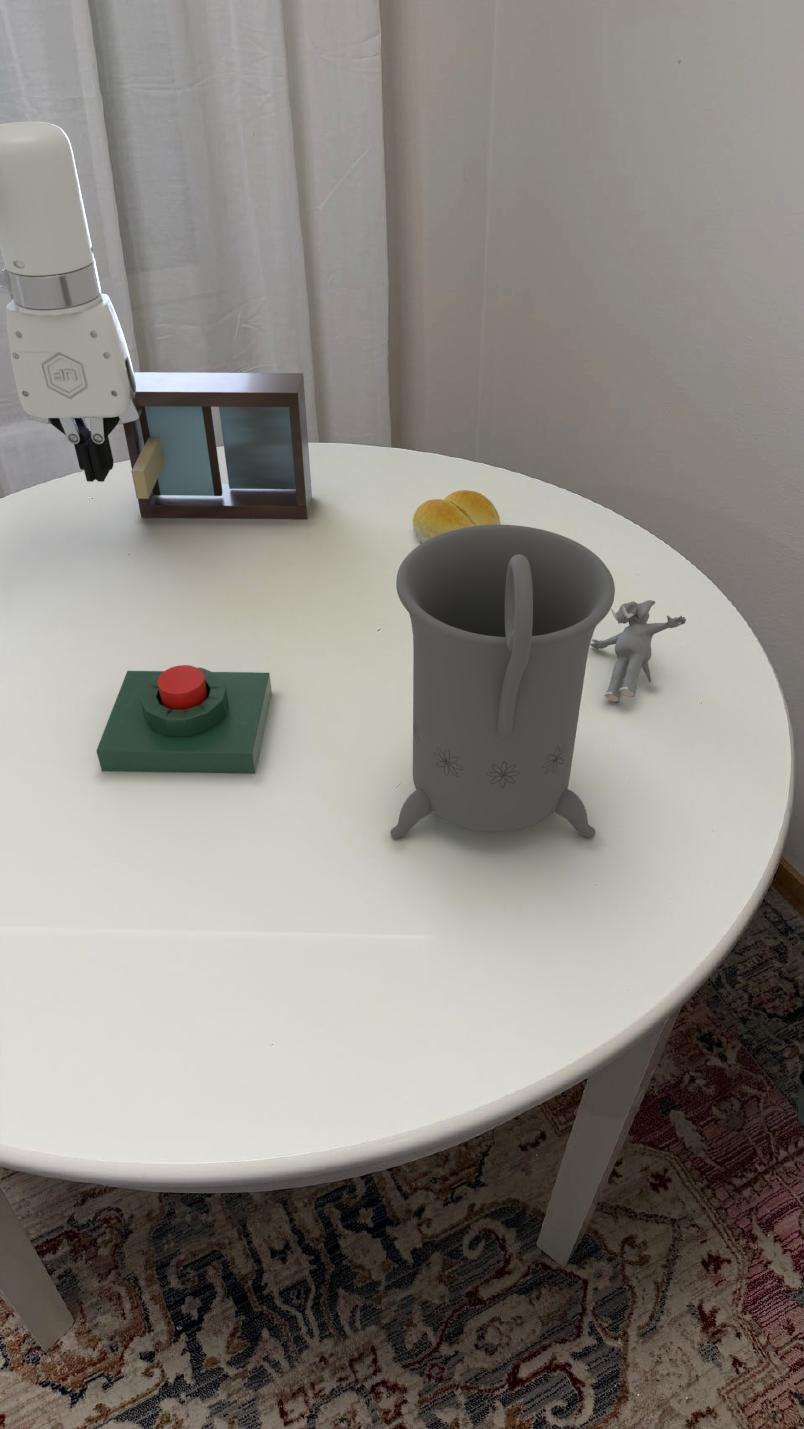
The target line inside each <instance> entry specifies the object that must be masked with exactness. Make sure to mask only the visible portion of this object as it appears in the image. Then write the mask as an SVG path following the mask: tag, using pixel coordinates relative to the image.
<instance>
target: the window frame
mask: <svg viewBox="0 0 804 1429" xmlns="http://www.w3.org/2000/svg"><path fill="white" fill-rule="evenodd" d="M133 372H134V377H135V382H136V394H135V397H136V399H137V401H138V403H139V405H140V406H186V407H211V408H212V407H213V408H215V407H216V408H218V412H219V419H220V420H219V421H220V428H221V436H222V443H223V451H224V458H225V465H226V466H225V467H226V473H227V474H226V475H227V481H228V483H221V485H222V492H223V493H222V496H185V495H153V490H152V492H151V494H150V496H149V499H137V501H138V508H139V513H140V517H141V518H154V519H155V518H157V519H158V518H160V519H161V518H164V519H165V518H167V519H168V518H169V519H171V518H172V519H266V520H267V519H274V520H275V519H277V520H280V519H281V520H286V519H287V520H308V519H309V514H310V508H311V504H312V499H313V491H312V490H313V489H312V476H311V464H310V462H311V461H310V450H309V449H310V448H309V435H308V434H309V433H308V422H307V420H308V419H307V408H306V392H305V379H304V373H302V372H162V371H161V372H159V371H158V372H157V371H156V372H150V371H149V372H145V371H144V372H143V371H142V372H141V371H140V372H138V371H136V372H135V371H133ZM122 426H123V431H124V436H125V441H126V447H127V451H128V456H129V462H130V467H131V470H132V469H133V467H134V465H135V463H136V461H137V459H138V457H139V455H140V453H141V451H142V450H143V448H144V440H143V435H142V430H141V424H140V419H139V418H138V420H136V421H132V422H128V423H124V424H122Z"/></svg>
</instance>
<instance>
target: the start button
mask: <svg viewBox="0 0 804 1429" xmlns="http://www.w3.org/2000/svg"><path fill="white" fill-rule="evenodd" d="M199 668H200V667H197V666H194V665H189V664H187V665H186V664H181V665H176V666H172V667H169V668H167V669H166V670H163V671H164V672H163V673H162V674H161V675H160V676H159V678H158V688H159V692H160V697H161V701H162V703H163V705H164V706H166V707H167V708H169V709H172V710H186V709H189V708H192V707H195V706H198V705H200V704H201V703H202V702H203V701H204V700H205V699H206V696H207V690H206V684H205V678H204V674H203V672H202V671H201V670H200V669H199Z"/></svg>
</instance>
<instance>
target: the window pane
mask: <svg viewBox="0 0 804 1429" xmlns="http://www.w3.org/2000/svg"><path fill="white" fill-rule="evenodd" d="M140 408H141V411H142V412H141V415H140V416H139V419H140V424H141V430H142V435H143V440H144V448H143V450H142V451H141V453H140V455H139V457H138V459H137V461H136V463H135V465H134V467H133V469H132V468H131V471H130V472H131V476H132V483H133V486H134V491H135V496H136V499H137V500H138V499H149V496H150V494H151V492H152V490H153V495H185V496H222V493H223V492H222V485H221V484H222V478H221V472H220V470H221V469H220V464H219V456H218V449H217V442H216V441H217V440H216V434H215V433H216V432H215V425H214V419H213V412H212V407H186V406H140Z"/></svg>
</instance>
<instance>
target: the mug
mask: <svg viewBox="0 0 804 1429" xmlns="http://www.w3.org/2000/svg"><path fill="white" fill-rule="evenodd" d="M613 577H614V576H613V575H612V573H611V571H610V570H609V568H608V567H607V565H606V564H605V562H604V561H603V560H602V559H601V558H600V557H599V556H598V555H597V554H596V553H594V552H593V551H592V550H591V549H589V548H587V547H586V546H584V545H583V544H581V543H579V542H577V541H575V540H573V539H571V538H569V537H567V536H564V535H561V534H559V533H556V532H552V531H549V530H546V529H541V528H537V527H532V526H531V527H530V526H526V525H517V524H516V525H515V524H501V525H479V526H471V527H465V528H460V529H456V530H452V531H448V532H445V533H442V534H440V535H437V536H435V537H432V538H430V539H428V540H427V541H425V542H421V543H419V544H418V545H417V546H415V548H413V549H412V550H411V551H410V552H409V553H408V554H407V555H406V557H405V558H404V559H403V560H402V561H401V563H400V565H399V568H398V570H397V573H396V583H395V585H396V592H397V596H398V599H399V601H400V602H401V604H402V606H403V608H404V609H405V610H406V611H407V612H408V614H409V618H410V623H411V630H412V639H413V640H412V646H413V647H412V650H413V651H412V652H413V653H412V656H413V659H412V661H413V664H412V666H413V667H412V669H413V670H412V674H413V675H412V678H413V679H412V780H413V786H414V788H415V791H413V792H412V793H411V794H410V795H409V796H408V797H407V798H406V800H404V803H403V804H402V807H401V809H400V812H399V816H398V821H397V824H396V826H394V827H392V828H391V829H390V832H389V833H390V837H392V838H393V839H395V840H396V839H400V838H402V837H403V836H405V835H406V834H408V833H409V831H410V830H411V829H412V828H413V827H414V826H415V825H416V824H417V823H419V822H420V821H421V820H423V819H425V817H427V816H428V815H430V814H431V813H434V814H436V816H438V817H440V818H441V819H443V820H445V821H446V822H448V823H451V824H454V825H456V826H459V827H462V828H465V829H468V830H471V831H478V832H485V833H487V832H488V833H503V832H513V831H518V830H519V831H520V830H522V829H526V828H529V827H532V826H535V825H536V824H539V823H541V822H543V821H544V820H545V819H548V818H549V817H550V816H551V815H553V814H554V813H556V814H558V815H559V816H561V817H563V818H564V819H565V820H567V821H568V822H569V823H570V825H572V827H573V828H574V830H576V832H578V834H580V835H582V836H583V837H585V838H587V839H591V838H593V837H595V835H596V829H595V828H594V827H593V826H591V825H589V820H588V813H587V809H586V806H585V804H584V803H583V801H582V800H581V798H580V797H579V796H578V795H577V794H576V793H575V792H574V791H573V790H571V789H569V784H570V777H571V771H572V765H573V758H574V751H575V745H576V744H575V743H576V738H577V730H578V725H579V724H578V722H579V718H580V717H579V716H580V711H581V710H580V709H581V703H582V695H583V688H584V683H585V675H586V667H587V662H588V655H589V650H590V647H591V645H590V643H592V639H593V635H594V632H595V630H596V628H597V626H598V625H599V624H600V623H601V622H602V621H603V620H604V619H605V618H606V616H608V614H609V612H611V609H612V607H613V605H614V600H615V593H616V584H615V581H614V578H613Z"/></svg>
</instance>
